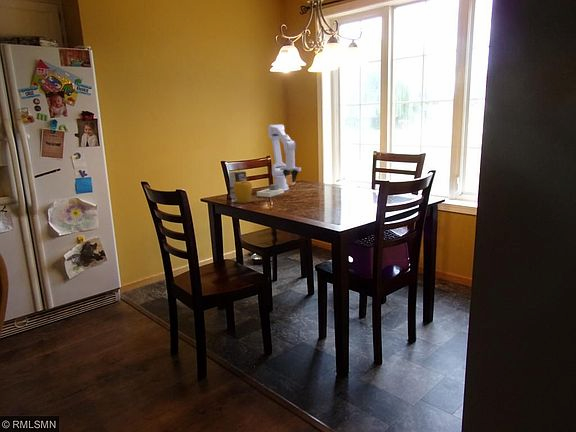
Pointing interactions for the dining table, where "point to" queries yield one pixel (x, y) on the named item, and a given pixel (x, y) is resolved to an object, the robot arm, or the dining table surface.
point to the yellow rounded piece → (243, 191)
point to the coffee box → (236, 180)
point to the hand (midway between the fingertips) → (290, 181)
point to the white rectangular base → (270, 191)
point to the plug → (289, 180)
